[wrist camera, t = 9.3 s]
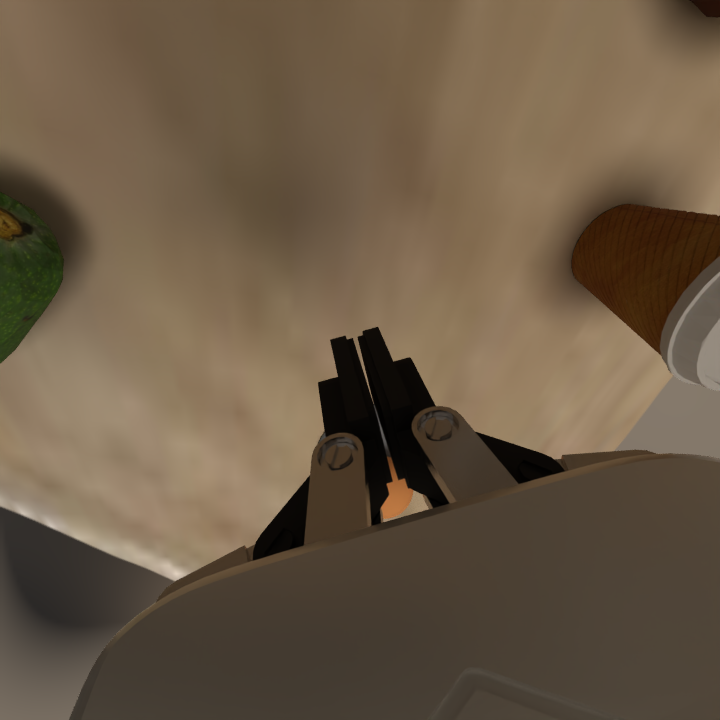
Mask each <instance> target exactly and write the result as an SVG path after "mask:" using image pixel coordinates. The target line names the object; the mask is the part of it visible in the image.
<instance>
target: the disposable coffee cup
mask: <svg viewBox="0 0 720 720" xmlns="http://www.w3.org/2000/svg"><path fill="white" fill-rule="evenodd" d="M572 271H573V274H574V276H575V278H576V279H577V280H578V281H579V282H580V283H581V284H582V285H583V286H584V287H585V288H587V289H588V290H589V291H590V292H591V293H592V294H593V295H594V296H595V297H597V298H598V299H599V300H600V301H601V302H602V303H603V304H604V305H606V306H607V307H608V308H609V309H610V310H611V311H612V312H613V313H614V314H615V315H617V316H618V317H619V318H620V319H621V320H622V321H623V322H624V323H626V324H627V325H628V326H629V327H630V328H631V329H632V330H633V331H634V332H636V333H637V334H638V335H639V336H640V337H641V338H642V339H643V340H645V341H646V342H647V343H648V344H649V345H650V346H651V347H652V348H653V349H654V350H655V351H657V352H658V353H659V354H660V355H661V356H662V359H663V360H664V362H665V363H666V365H667V367H668V370H669V371H670V372H671V373H672V374H673V375H674V376H675V377H676V378H677V379H679V380H680V381H682V382H684V383H689V384H694V385H702V386H704V387H707V388H709V389H711V390H715V391H720V216H717V215H710V214H708V215H707V214H703V213H698V214H697V213H695V212H687V211H678V210H669V209H662V208H661V209H660V208H655V207H653V208H652V207H648V206H645V207H644V206H640V205H634V204H626V205H620V206H617V207H615V208H613V209H610V210H608V211H607V212H605V213H603V214H602V215H600V216H599V217H598V218H597V219H595V220H594V221H593V222H592V223H591V224H590V225H589V226H588V227H587V229H586V230H585V231H584V233H583V234H582V235H581V237H580V239H579V241H578V243H577V244H576V247H575V249H574V252H573V257H572Z"/></svg>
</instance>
